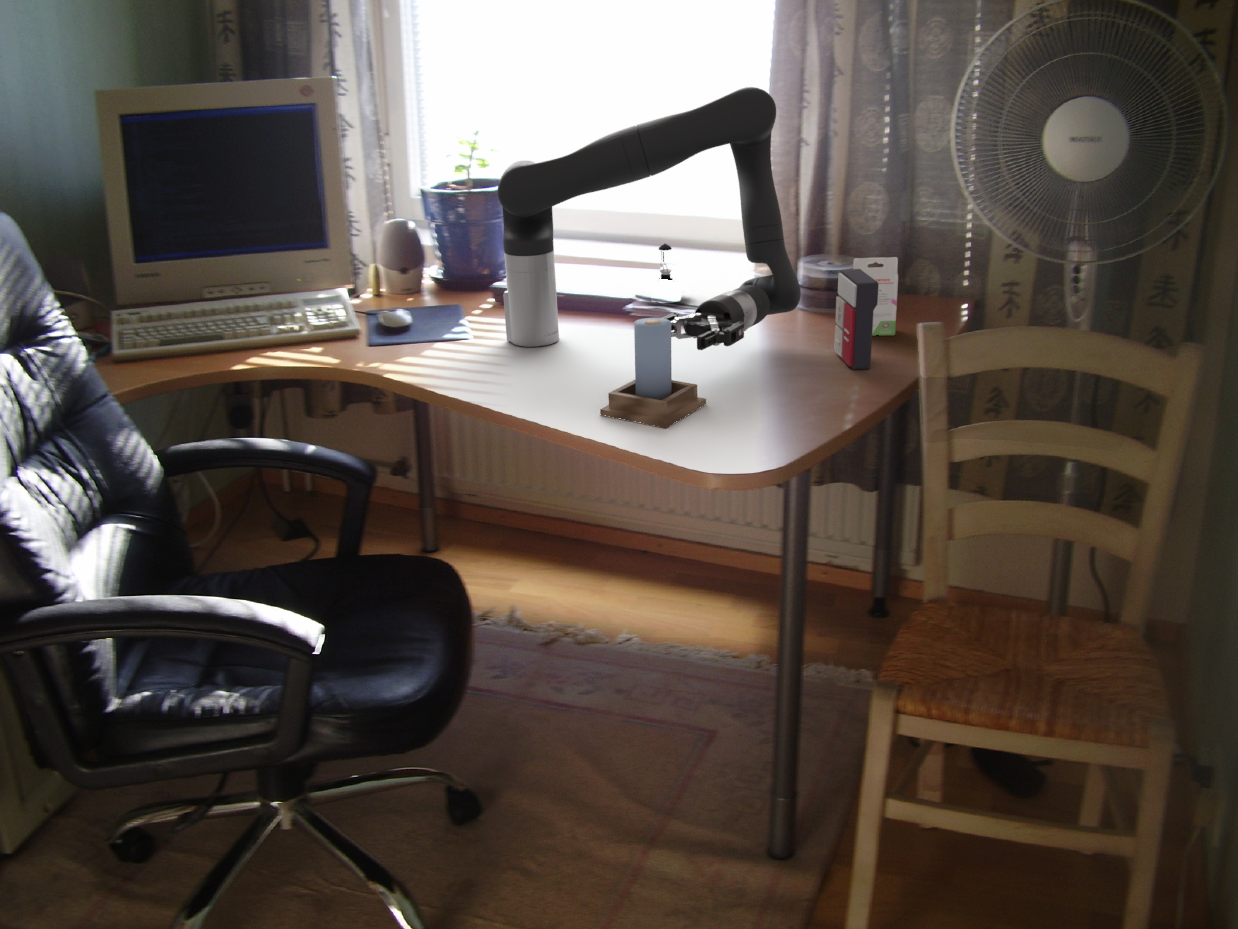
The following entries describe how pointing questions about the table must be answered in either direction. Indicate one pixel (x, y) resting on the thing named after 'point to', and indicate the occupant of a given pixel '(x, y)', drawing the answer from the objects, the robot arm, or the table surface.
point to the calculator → (855, 317)
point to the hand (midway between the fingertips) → (675, 340)
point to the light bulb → (666, 273)
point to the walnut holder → (653, 404)
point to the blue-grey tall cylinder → (653, 358)
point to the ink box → (882, 292)
